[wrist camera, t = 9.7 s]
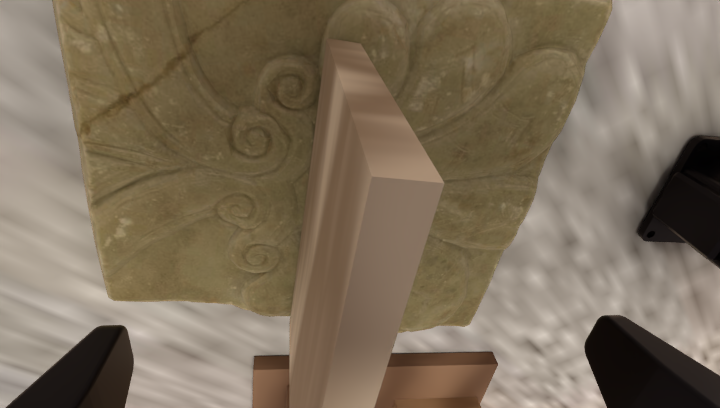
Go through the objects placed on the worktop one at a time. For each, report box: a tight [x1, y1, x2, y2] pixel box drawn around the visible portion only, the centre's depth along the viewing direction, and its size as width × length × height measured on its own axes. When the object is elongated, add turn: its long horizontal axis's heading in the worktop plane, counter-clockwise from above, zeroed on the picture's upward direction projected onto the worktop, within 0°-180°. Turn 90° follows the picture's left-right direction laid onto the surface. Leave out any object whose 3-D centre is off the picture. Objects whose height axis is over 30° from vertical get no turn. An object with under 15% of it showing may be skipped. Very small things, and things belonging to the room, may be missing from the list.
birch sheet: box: [289, 38, 444, 408], centre depth 15 cm, size 1×14×10 cm, turn 170°
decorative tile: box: [52, 0, 612, 333], centre depth 20 cm, size 19×20×4 cm
